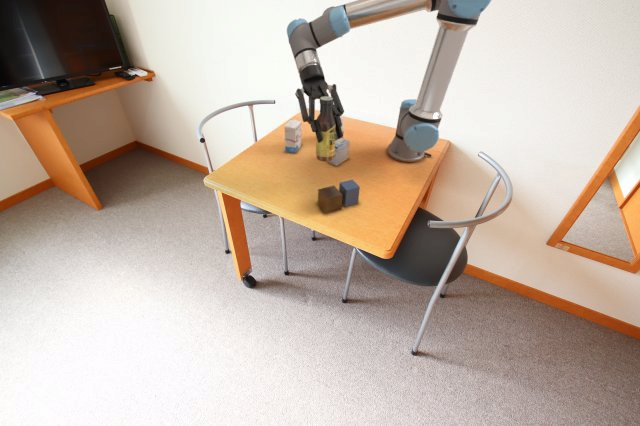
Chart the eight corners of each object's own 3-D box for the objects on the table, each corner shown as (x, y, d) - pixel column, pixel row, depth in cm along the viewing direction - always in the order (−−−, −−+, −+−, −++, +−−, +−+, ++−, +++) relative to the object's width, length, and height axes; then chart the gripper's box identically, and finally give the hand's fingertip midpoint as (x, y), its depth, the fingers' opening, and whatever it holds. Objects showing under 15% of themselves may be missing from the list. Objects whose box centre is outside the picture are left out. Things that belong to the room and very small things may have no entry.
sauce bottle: (332, 163, 100) (334, 103, 88) (314, 161, 101) (313, 101, 89) (335, 154, 105) (338, 95, 93) (318, 152, 106) (318, 94, 94)
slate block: (350, 195, 108) (352, 179, 104) (357, 203, 105) (359, 186, 100) (338, 199, 107) (339, 182, 102) (345, 207, 103) (346, 190, 99)
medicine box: (339, 155, 131) (341, 137, 126) (348, 159, 129) (349, 140, 123) (328, 162, 126) (329, 143, 121) (336, 166, 124) (337, 147, 119)
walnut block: (333, 199, 106) (334, 185, 103) (341, 209, 102) (342, 194, 98) (317, 203, 104) (318, 189, 101) (325, 213, 100) (325, 199, 96)
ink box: (296, 153, 132) (295, 127, 124) (285, 152, 133) (283, 126, 125) (302, 145, 138) (301, 119, 131) (291, 143, 139) (290, 118, 132)
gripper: (333, 74, 103) (352, 138, 102) (279, 80, 97) (299, 148, 96) (341, 60, 96) (362, 129, 95) (283, 66, 90) (305, 140, 89)
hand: (330, 139), depth 95 cm, fingers closed on sauce bottle, 6 cm apart
